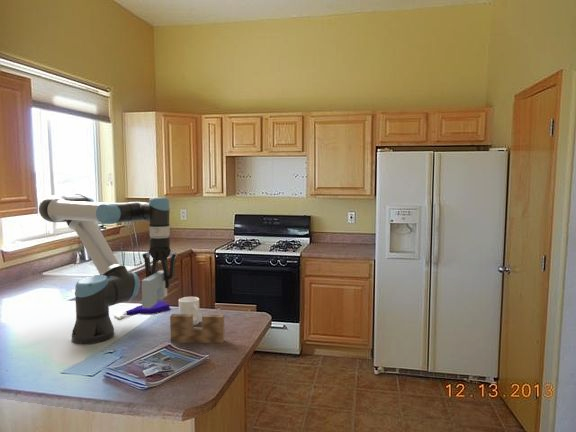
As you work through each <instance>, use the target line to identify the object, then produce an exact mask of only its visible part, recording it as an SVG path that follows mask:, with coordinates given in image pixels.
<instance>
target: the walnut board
mask: <svg viewBox="0 0 576 432" xmlns="http://www.w3.org/2000/svg"><path fill="white" fill-rule="evenodd" d="M169 317H170V318H169V319H170V321H169V322H170V342H171V343H192V344H193V343H194V344H195V343H197V344H198V343H200V344H202V343H203V344H205V343H206V344H223V343H224V342H225V314H208V313H207V314H203V315H202V317H201V326H193V314H179V313H172V314H171V315H170V316H169Z"/></svg>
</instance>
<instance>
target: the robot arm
mask: <svg viewBox="0 0 576 432" xmlns="http://www.w3.org/2000/svg"><path fill="white" fill-rule="evenodd" d="M170 209H171V208H170V200H169V198H168V197H150V198H149V200H148V202H145V201H129V202H98V201H95V200H94V199H93V198H92V197H90V196H89V195H85V194H79V193H75V194H54V195H52V194H51V195H48V196H46V197H45V198H44V199H42V200H41V201H40V203H39V205H38V212H39V215H40V216H41V218H42V219H44V220H45V221H47V222H50V223H66V224H67V226H68V228H69V229H71V230H74V231H75V233H76V234H77V237H78V238H79V240H80V242H81V243H82V246H83V247H84V248H85V251H86V252H87V254H88V256H89V258H90V259H91V261H92V263H93V265H94V266H95V268H96V270H97V273H98V274H95V275H90V276H86V277H83V278H81V279H79V280H78V281H77V282H76V283H75V289H74V290H75V291H74V296H75V316H76V317H75V323H74V324H73V325H74V326H73V329H72V332H71V341H72V342H73V343H75V344H81V345H82V344H83V345H85V344H86V345H88V344H96V343H97V344H98V343H101V342H105V341H107V340H110V339H111V338H112V337H115V328H114V325H113V322H112V319H111V317H110V306H111V307H112V306H114V305H117V304H118V305H119V304H121V303H127V302H129V301H130V300H133V299H134V298H136V297H137V296H138V294H139V292H140V287H141V283H140V282H141V281H140V277H139V276H138V275H137V274H136V273H135V272H133V271H128V269H127V267H126V265H123V264H120V263H119V261H118V260H117V258H116V256H115V255H114V252H113V251H112V249H111V247H110V245H109V243H108V242H107V240H106V238H105V237H104V235H103V233H102V232H101V230H100V228H99V226H98V225H97V223H101V224H103V225H113V224H118V223H119V224H120V223H130V222H133V223H134V222H149V237H150V238H149V249H148V252H145V253H142V255H141V256H142V257H143V260H144V268H145V277H146V278H147V277H149V276H151V275H153V274H154V273H156V272H158V265H159V261H161V265H162V271H163V272H164V278H165V279H164V280H163V297H164V298H166V297H167V296H168V289H169V288H170V280H172V279H174V278H175V271H176V270H175V269H176V259H177V257H178V253H175V252H172V250H171V240H170V239H171V237H170V236H171V235H170V234H171V233H170V229H171V228H170V211H171V210H170ZM150 256H151V257H150ZM169 257H170V263H169V265H168V258H169ZM150 258H152V265H151V259H150ZM151 267H152V268H151Z"/></svg>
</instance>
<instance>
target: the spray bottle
mask: <svg viewBox="0 0 576 432" xmlns="http://www.w3.org/2000/svg"><path fill="white" fill-rule="evenodd" d="M170 306H171V305H169V303H167V302H165V301H162V300H159V301H157V303H156V304H155V305H154V306H152V307H151V308H142V304H141V305H138V306H136V307H134V308H131V309H129V310H126V311H122V312H115V313H114V314H113V316H114V318H115V319H117V320H122V318H126V317H127V318H128V317H131V316H133V314H134V315H139V314H138V313H140V315H154V314H158V313H157V312H159V313H161V312H162V311H163V312H167V311H169V310H170V309H171V308H170ZM153 313H154V314H153Z"/></svg>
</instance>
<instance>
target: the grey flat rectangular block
mask: <svg viewBox="0 0 576 432" xmlns="http://www.w3.org/2000/svg"><path fill="white" fill-rule="evenodd" d="M164 279H165V278H164V272H163V270H157V272H156V273H154V274H153V275H151V276H149V277H147V278H144V279H142V280H141V305H142V308H151V307H152V306H154V305H155V304H156V303H157V302H158V300H159V301H162V300H163V299H164V298H165V297H163V280H164Z"/></svg>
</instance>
